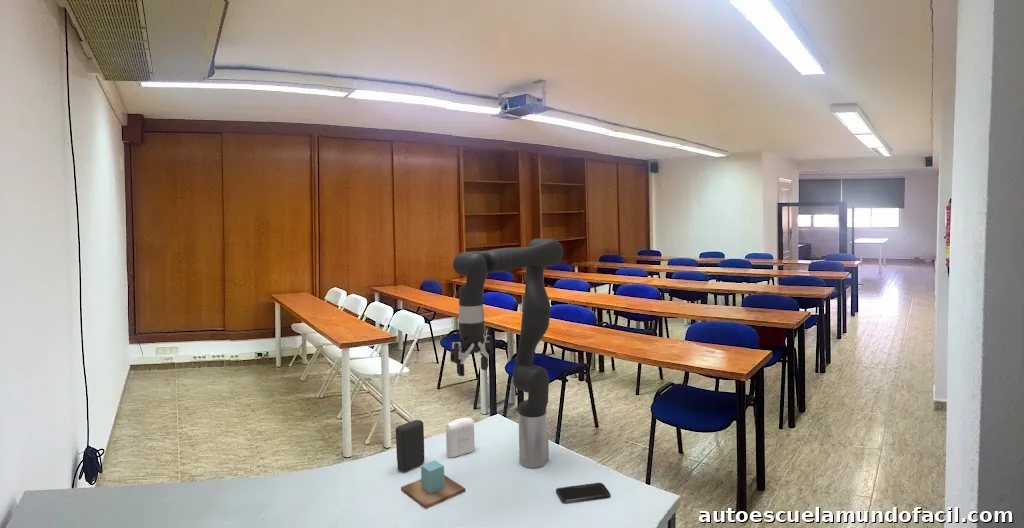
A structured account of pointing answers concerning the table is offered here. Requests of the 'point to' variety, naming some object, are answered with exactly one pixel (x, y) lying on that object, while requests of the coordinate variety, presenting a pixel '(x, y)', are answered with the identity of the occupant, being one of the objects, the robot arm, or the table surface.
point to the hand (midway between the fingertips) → (472, 372)
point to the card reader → (410, 445)
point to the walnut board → (434, 498)
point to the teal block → (432, 476)
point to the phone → (582, 493)
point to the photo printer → (460, 437)
